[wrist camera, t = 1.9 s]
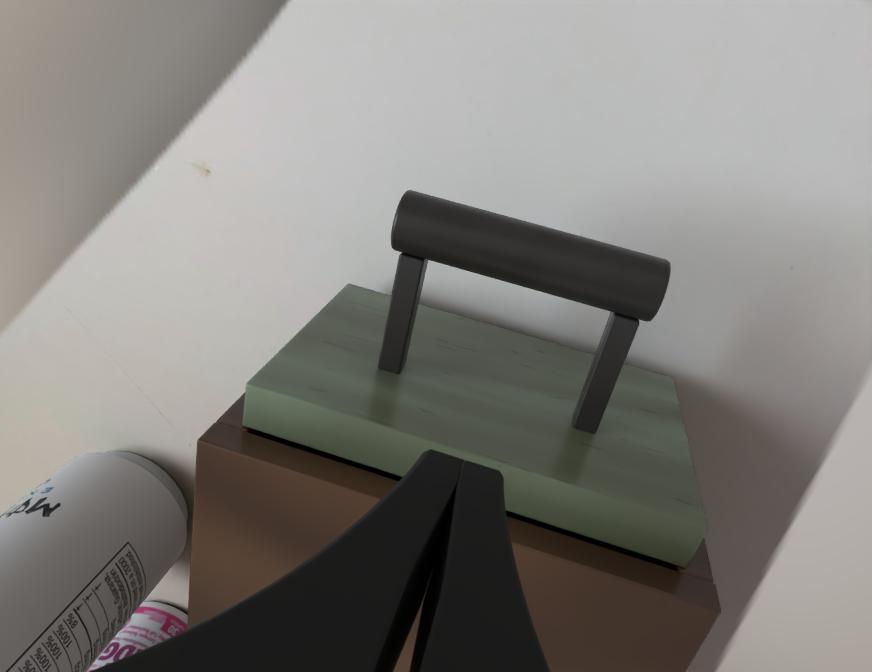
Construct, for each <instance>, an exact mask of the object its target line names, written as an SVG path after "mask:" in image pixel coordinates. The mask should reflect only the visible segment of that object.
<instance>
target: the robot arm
mask: <svg viewBox="0 0 872 672" xmlns="http://www.w3.org/2000/svg"><path fill="white" fill-rule="evenodd" d="M463 463H464V465H463ZM462 467H463V468H462ZM461 470H462V471H461ZM429 579H430V580H429ZM428 582H429V583H428ZM427 586H428V587H427ZM426 589H427V590H426ZM425 592H426V594H425ZM424 595H425V597H424ZM423 599H424V601H423ZM422 602H423V605H422V610H421V615H420V620H419V625H418V630H417V635H416V640H415V645H414V650H413V655H412V660H411V665H410V670H409V672H551V671H550V669H549V666H548V663H547V661H546V658H545V656H544V653H543V651H542V648H541V645H540V642H539V640H538V637H537V634H536V631H535V628H534V625H533V622H532V619H531V616H530V613H529V609H528V606H527V603H526V599H525V596H524V593H523V589H522V585H521V582H520V578H519V574H518V570H517V566H516V561H515V557H514V553H513V548H512V544H511V539H510V534H509V528H508V522H507V515H506V508H505V499H504V477H503V476H502V474H501V472H500V471H499V470H496V469H493V468H489V467H486V466H483V465H480V464H477V463H474V462H470V461H467V460H465V462H464V459H461V458H458V457H455V456H451V455H448V454H445V453H442V452H439V451H436V450H432V449H429V450H427V451H425V452H423V453H422V454H421V456H420V457H419V459H418V460H417V461H416V463H415V464H414V465H413V466H412V468H411V469H410V470H409V471H408V472H407V473H406V474H405V476H404V477H403V478H402V479H401V480H400V481H399V482H398V483H397V484H396V485H395V486H394V487H393V488H392V489H391V490H390V491H389V492H388V493H387V494H386V495H385V496H384V497H383V498H382V499H381V500H380V501H379V502H377V503H376V504H375V505H374V506H373V507H372V508H371V509H370V510H369V511H368V512H367V513H366V514H365V515H363V516H362V517H361V518H360V519H359V520H358V521H356V522H355V523H354V524H353V525H352V526H350V527H349V528H348V529H347V530H345V531H344V532H343V533H342V534H340V535H339V536H338V537H337V538H336V539H334V540H333V541H332V542H331V543H329V544H328V545H327V546H325V547H324V548H323V549H321V550H320V551H319V552H317V553H316V554H315V555H313V556H312V557H310V558H309V559H308V560H306V561H305V562H303V563H302V564H300V565H299V566H297V567H296V568H294V569H293V570H291V571H290V572H288V573H287V574H285V575H284V576H282V577H281V578H279V579H278V580H276V581H275V582H273V583H271V584H270V585H268V586H266V587H265V588H263V589H261V590H260V591H258V592H256V593H255V594H253V595H251V596H250V597H248V598H246V599H245V600H243V601H241V602H239V603H237V604H236V605H234V606H232V607H230V608H228V609H227V610H225V611H223V612H221V613H219V614H217V615H215V616H213V617H211V618H209V619H207V620H205V621H203V622H201V623H199V624H197V625H195V626H193V627H191V628H189V629H187V630H185V631H182V632H180V633H178V634H176V635H174V636H172V637H170V638H168V639H166V640H164V641H162V642H160V643H158V644H155V645H153V646H151V647H149V648H146V649H144V650H142V651H140V652H137V653H135V654H132V655H130V656H127V657H124V658H122V659H119V660H117V661H114V662H112V663H109V664H107V665H104V666H102V667H99V668H97V669H94V670H92V671H89V672H393V671H394V669H395V666H396V664H397V662H398V659H399V657H400V655H401V652H402V650H403V647H404V645H405V643H406V640H407V638H408V635H409V633H410V631H411V628H412V626H413V623H414V621H415V619H416V616H417V614H418V611H419V609H420V606H421V604H422Z"/></svg>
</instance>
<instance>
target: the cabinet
mask: <svg viewBox="0 0 872 672" xmlns="http://www.w3.org/2000/svg"><path fill="white" fill-rule="evenodd" d="M244 403H245V393H244V394H243V395H242V396H241V397H240V398H239V399H238V400H237V401H236V402H235V403H234V404H233V405H232V406H231V407H230V408H229V409H228V410H227V411H226V412H225V413H224V414H223V415H222V416H221V417H220V418H219V419H218V420H217V421H216V423H214V424H213V425H212V426H211V427H210V428H209V429H208V430H207V431H206V432H205V433H204V434H203V435H202V436H201V437H200V438H199V439H198V441H197V456H196V474H195V493H194V511H193V530H192V548H191V566H190V585H189V603H188V621H187V629H189V628H191V627H193V626H195V625H197V624H199V623H201V622H203V621H205V620H207V619H209V618H211V617H213V616H215V615H217V614H219V613H221V612H223V611H225V610H227V609H228V608H230V607H232V606H234V605H236V604H237V603H239V602H241V601H243V600H245V599H246V598H248V597H250V596H251V595H253V594H255V593H256V592H258V591H260V590H261V589H263V588H265V587H266V586H268V585H270V584H271V583H273V582H275V581H276V580H278V579H279V578H281V577H282V576H284V575H285V574H287V573H288V572H290V571H291V570H293V569H294V568H296V567H297V566H299V565H300V564H302V563H303V562H305V561H306V560H308V559H309V558H310V557H312V556H313V555H315V554H316V553H317V552H319V551H320V550H321V549H323V548H324V547H325V546H327V545H328V544H329V543H331V542H332V541H333V540H334V539H336V538H337V537H338V536H339V535H340V534H342V533H343V532H344V531H345V530H347V529H348V528H349V527H350V526H352V525H353V524H354V523H355V522H356V521H358V520H359V519H360V518H361V517H362V516H363V515H365V514H366V513H367V512H368V511H369V510H370V509H371V508H372V507H373V506H374V505H375V504H376V503H377V502H379V501H380V500H381V499H382V498H383V497H384V496H385V495H386V494H387V493H388V492H389V491H390V490H391V489H392V488H393V487H394V486H395V485H396V484H397V483H398V482H399V481H396V480H393V479H390V478H387V477H384V476H381V475H378V474H375V473H372V472H369V471H365V470H362V469H359V468H356V467H353V466H350V465H347V464H344V463H341V462H338V461H335V460H331V459H328V458H325V457H322V456H319V455H316V454H313V453H310V452H307V451H304V450H300V449H297V448H294V447H291V445H292V443H293V442H292V441H289V440H286V439H283V438H279V437H276V436H273V435H270V434H267V433H264V432H261V431H258V430H255V429H252V428H248V427H245V426H243V413H244ZM507 522H508V528H509V534H510V539H511V544H512V548H513V553H514V557H515V561H516V566H517V570H518V574H519V578H520V582H521V585H522V589H523V593H524V596H525V599H526V603H527V606H528V609H529V613H530V616H531V619H532V622H533V625H534V628H535V631H536V634H537V637H538V640H539V642H540V645H541V648H542V651H543V653H544V656H545V658H546V661H547V663H548V666H549V669H550V671H551V672H686V670H687V669H688V667H689V665H690V664H691V662H692V660H693V658H694V657H695V655H696V653H697V652H698V650H699V648H700V647H701V645H702V643H703V642H704V640H705V638H706V637H707V635H708V633H709V631H710V630H711V628H712V626H713V625H714V623H715V621H716V620H717V618H718V616H719V615H720V613H721V608H720V604H719V599H718V594H717V590H716V585H715V584H714V583H713V576H712V571H711V566H710V562H709V557H708V553H707V548H706V544H705V539H704V537H703V539H702V541H701V543H700V545H699V547H698V548H697V550H696V552H695V554H694V556H693V558H692V560H691V561H690V563H689V565H688V567H687V568H683V567H680V566H677V565H674V564H671V563H668V562H665V561H662V560H658V559H655V558H652V557H649V556H646V555H643V554H640V553H637V552H634V551H630V556H629V555H626V554H623V553H619V552H616V551H613V550H610V549H607V548H604V547H601V546H598V545H595V544H592V543H588V542H585V541H582V540H579V539H576V538H573V537H570V536H567V535H564V534H561V533H558V532H554V531H551V530H548V529H545V528H542V527H539V526H536V525H533V524H530V523H527V522H523V521H520V520H517V519H514V518H511V517H508V516H507ZM429 580H430V579H429ZM428 583H429V582H428ZM427 587H428V586H427ZM426 590H427V589H426ZM425 594H426V592H425ZM424 597H425V595H424ZM423 601H424V599H423ZM422 605H423V602H422V604H421V606H420V609H419V611H418V614H417V616H416V619H415V621H414V623H413V626H412V628H411V631H410V633H409V635H408V638H407V640H406V643H405V645H404V647H403V650H402V652H401V655H400V657H399V659H398V662H397V664H396V666H395V669H394V671H393V672H409V670H410V665H411V660H412V655H413V650H414V645H415V640H416V635H417V630H418V625H419V620H420V615H421V610H422Z"/></svg>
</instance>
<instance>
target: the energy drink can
mask: <svg viewBox="0 0 872 672" xmlns="http://www.w3.org/2000/svg"><path fill="white" fill-rule="evenodd" d="M187 520H188V510H187V506H186V501H185V499H184V497H183V495H182V492H181V491H180V489H179V488H178V486H177V484H176V483H175V482H174V481H173V479H172V478H171V477H170V476H169V475H168V474H167V473H166V472H165V471H164V470H162V469H161V468H160V467H159V466H158V465H156V464H154V463H153V462H151V461H150V460H148V459H146V458H144V457H141V456H139V455H136V454H133V453H129V452H123V451H111V452H106V453H89V454H84V455H81V456H78V457H75V458H74V459H72V460H71V461H69V462H68V463H67V464H65V465H64V466H63V467H62V468H60V469H59V470H58V471H57V472H55V473H54V474H53V475H52V476H50V477H49V478H48V479H47V480H45V481H44V482H43V483H42V484H40V485H39V486H38V487H37V488H35V489H34V490H33V491H31V492H30V493H29V494H28V495H26V496H25V497H24V498H23V499H21V500H20V501H19V502H18V503H16V504H15V505H14V506H13V507H11V508H10V509H9V510H8V511H6V512H5V513H4V514H3V515H1V516H0V672H87V670H88V669H89V668H90V667H91V665H92V664H93V663H94V662H95V661H96V659H97V658H98V657H99V656H100V654H101V653H102V652H103V651H104V649H105V648H106V647H107V646H108V644H109V643H110V642H111V641H112V640H113V638H114V637H115V636H116V635H117V633H118V632H119V631H120V630H121V628H122V627H123V626H124V625H125V623H126V622H127V621H128V620H129V619H130V617H131V616H132V615H133V614H134V612H135V611H136V610H137V609H138V607H139V606H140V605H141V604H142V602H143V601H144V600H145V599H146V598H147V596H148V595H149V594H150V593H151V591H152V590H153V589H154V588H155V586H156V585H157V584H158V583H159V581H160V580H161V579H162V578H163V577H164V575H165V574H166V573H167V572H168V570H169V569H170V568H171V567H172V565H173V564H174V563H175V562H176V560H177V559H178V558H179V557H180V555H181V553H182V552H183V550H184V548H185V544H186V540H187V527H186V525H187Z"/></svg>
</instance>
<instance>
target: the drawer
mask: <svg viewBox="0 0 872 672" xmlns="http://www.w3.org/2000/svg"><path fill="white" fill-rule="evenodd" d="M391 246H392V248H393V249H394V250H396V251H399V252H402V253H401V254H400V256H399V260H398V265H397V270H396V275H395V280H394V285H393V290H392V295H391V296H390V295H387V294H383V293H380V292H376V291H373V290H369V289H366V288H363V287H359V286H356V285H352V284H347V285H346V286H345V287H344V288H343V289H342V290H341V291H340V292H339V293H338V294H337V295H336V296H335V297H334V298H333V299H332V300H331V301H330V302H329V303H328V304H327V305H326V306H325V307H324V308H323V309H322V310H321V311H320V312H319V313H318V314H317V315H316V316H315V317H314V318H313V319H312V320H311V321H310V322H309V323H308V324H306V325H305V326H304V327H303V328H302V329H301V330H300V331H299V332H298V333H297V334H296V335H295V336H294V337H293V338H292V339H291V340H290V341H289V342H288V343H287V344H286V345H285V346H284V347H283V348H282V349H281V350H280V351H279V352H278V353H277V354H276V355H275V356H274V357H273V358H272V359H271V360H270V361H269V362H268V363H267V364H266V365H265V366H264V367H263V368H262V369H261V370H260V371H259V372H258V373H257V374H255V375H254V376H253V377H252V378H251V379H250V380H249V381H248V382H247V384H246V392H245V403H244V413H243V426H245V427H248V428H252V429H255V430H258V431H261V432H264V433H267V434H270V435H273V436H276V437H279V438H283V439H286V440H289V441H292V442H293V443H292V445H291V447H294V448H297V449H300V450H304V451H307V452H310V453H313V454H316V455H319V456H322V457H325V458H328V459H331V460H335V461H338V462H341V463H344V464H347V465H350V466H353V467H356V468H359V469H362V470H365V471H369V472H372V473H375V474H378V475H381V476H384V477H387V478H390V479H393V480H396V481H400V480H401V479H402V478H403V477H404V476H405V474H406V473H407V472H408V471H409V470H410V469H411V468H412V466H413V465H414V464H415V463H416V461H417V460H418V459H419V457H420V456H421V454H422V453H423V452H425V451H427V450H429V449H432V450H436V451H439V452H442V453H445V454H448V455H451V456H455V457H458V458H461V459H464V462H465V460H467V461H470V462H474V463H477V464H480V465H483V466H486V467H489V468H493V469H496V470H499V471H500V472H501V474H502V476H503V477H504V499H505V508H506V515H507V516H508V517H511V518H514V519H517V520H520V521H523V522H527V523H530V524H533V525H536V526H539V527H542V528H545V529H548V530H551V531H554V532H558V533H561V534H564V535H567V536H570V537H573V538H576V539H579V540H582V541H585V542H588V543H592V544H595V545H598V546H601V547H604V548H607V549H610V550H613V551H616V552H619V553H623V554H626V555H629V556H630V551H634V552H637V553H640V554H643V555H646V556H649V557H652V558H655V559H658V560H662V561H665V562H668V563H671V564H674V565H677V566H680V567H683V568H687V567H688V565H689V563H690V561H691V560H692V558H693V556H694V554H695V552H696V550H697V548H698V547H699V545H700V543H701V541H702V539H703V537H704V535H705V533H706V532H707V530H708V526H707V522H706V518H705V513H704V509H703V505H702V500H701V496H700V492H699V487H698V483H697V479H696V474H695V470H694V466H693V461H692V457H691V453H690V448H689V444H688V440H687V435H686V431H685V427H684V422H683V418H682V413H681V409H680V405H679V400H678V396H677V392H676V387H675V383H674V379H673V378H672V377H668V376H665V375H661V374H658V373H654V372H651V371H648V370H644V369H641V368H637V367H634V366H630V365H627V364H624V361H625V359H626V356H627V354H628V351H629V349H630V346H631V344H632V341H633V339H634V336H635V333H636V331H637V328H638V326H639V319H640V320H643V321H651V320H652V319H653V318H654V316H655V315H656V314H657V312H658V310H659V308H660V306H661V304H662V301H663V299H664V296H665V293H666V290H667V286H668V282H669V278H670V262H669V261H667V260H666V259H662V258H658V257H655V256H651V255H647V254H643V253H640V252H636V251H632V250H629V249H625V248H621V247H618V246H614V245H610V244H607V243H603V242H599V241H596V240H592V239H588V238H585V237H581V236H577V235H574V234H570V233H566V232H563V231H559V230H555V229H552V228H548V227H544V226H541V225H537V224H533V223H530V222H526V221H522V220H518V219H515V218H511V217H507V216H504V215H500V214H496V213H493V212H489V211H485V210H482V209H478V208H474V207H471V206H467V205H463V204H460V203H456V202H452V201H449V200H445V199H441V198H438V197H434V196H430V195H427V194H423V193H419V192H416V191H412V190H409V191H406V192H405V193H404V195H403V197H402V198H401V200H400V202H399V205H398V208H397V211H396V214H395V217H394V221H393V226H392V232H391ZM428 260H431V261H435V262H438V263H442V264H445V265H449V266H452V267H456V268H459V269H463V270H467V271H470V272H474V273H477V274H481V275H484V276H488V277H491V278H495V279H498V280H502V281H505V282H509V283H512V284H516V285H520V286H523V287H527V288H530V289H534V290H537V291H541V292H544V293H548V294H551V295H555V296H558V297H562V298H565V299H569V300H573V301H576V302H580V303H583V304H587V305H590V306H594V307H597V308H601V309H604V310H608V311H611V313H610V316H609V318H608V321H607V324H606V326H605V329H604V332H603V335H602V337H601V340H600V343H599V345H598V348H597V351H596V353H595V355H593V354H589V353H586V352H582V351H579V350H576V349H572V348H569V347H565V346H562V345H558V344H555V343H551V342H548V341H545V340H541V339H538V338H534V337H531V336H527V335H524V334H521V333H517V332H514V331H510V330H507V329H503V328H500V327H497V326H493V325H490V324H486V323H483V322H479V321H476V320H472V319H469V318H466V317H462V316H459V315H455V314H452V313H448V312H445V311H442V310H438V309H435V308H431V307H428V306H424V305H421V304H419V299H420V295H421V290H422V286H423V281H424V277H425V272H426V268H427V263H428ZM463 465H464V463H463ZM462 468H463V467H462ZM461 471H462V470H461Z"/></svg>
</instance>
